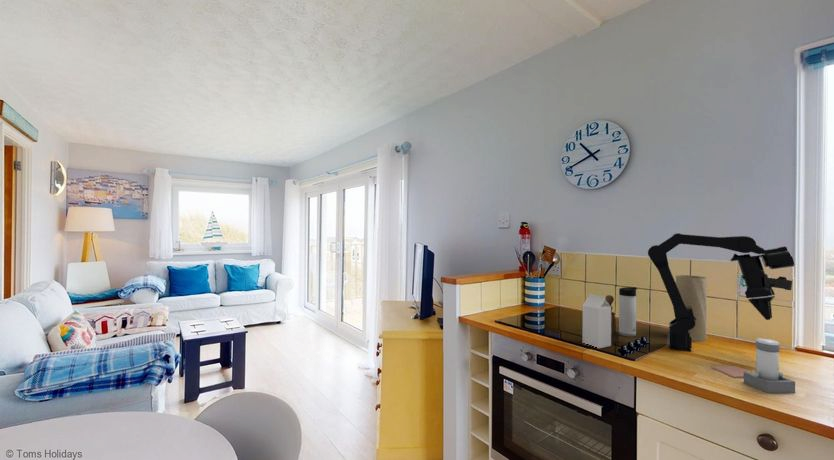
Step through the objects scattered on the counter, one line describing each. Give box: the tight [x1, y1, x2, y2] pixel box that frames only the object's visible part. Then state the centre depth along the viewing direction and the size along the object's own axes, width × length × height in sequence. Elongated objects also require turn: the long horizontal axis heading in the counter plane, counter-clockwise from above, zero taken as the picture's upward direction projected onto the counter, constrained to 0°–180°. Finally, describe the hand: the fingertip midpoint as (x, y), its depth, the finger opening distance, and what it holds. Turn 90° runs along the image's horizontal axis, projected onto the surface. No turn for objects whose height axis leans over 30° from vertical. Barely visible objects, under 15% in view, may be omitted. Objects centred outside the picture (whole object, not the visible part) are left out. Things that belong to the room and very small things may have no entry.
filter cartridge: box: [755, 337, 780, 381], centre depth 103 cm, size 5×5×13 cm
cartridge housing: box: [743, 370, 796, 394], centre depth 103 cm, size 7×9×4 cm
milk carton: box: [582, 293, 612, 349], centre depth 139 cm, size 7×7×19 cm
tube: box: [675, 274, 708, 343], centre depth 149 cm, size 10×10×25 cm
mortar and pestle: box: [604, 295, 620, 344], centre depth 145 cm, size 7×6×18 cm
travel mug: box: [618, 286, 638, 338], centre depth 153 cm, size 6×7×20 cm
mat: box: [711, 365, 751, 379], centre depth 113 cm, size 8×8×1 cm
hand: (769, 318), depth 120 cm, fingers open, 9 cm apart
